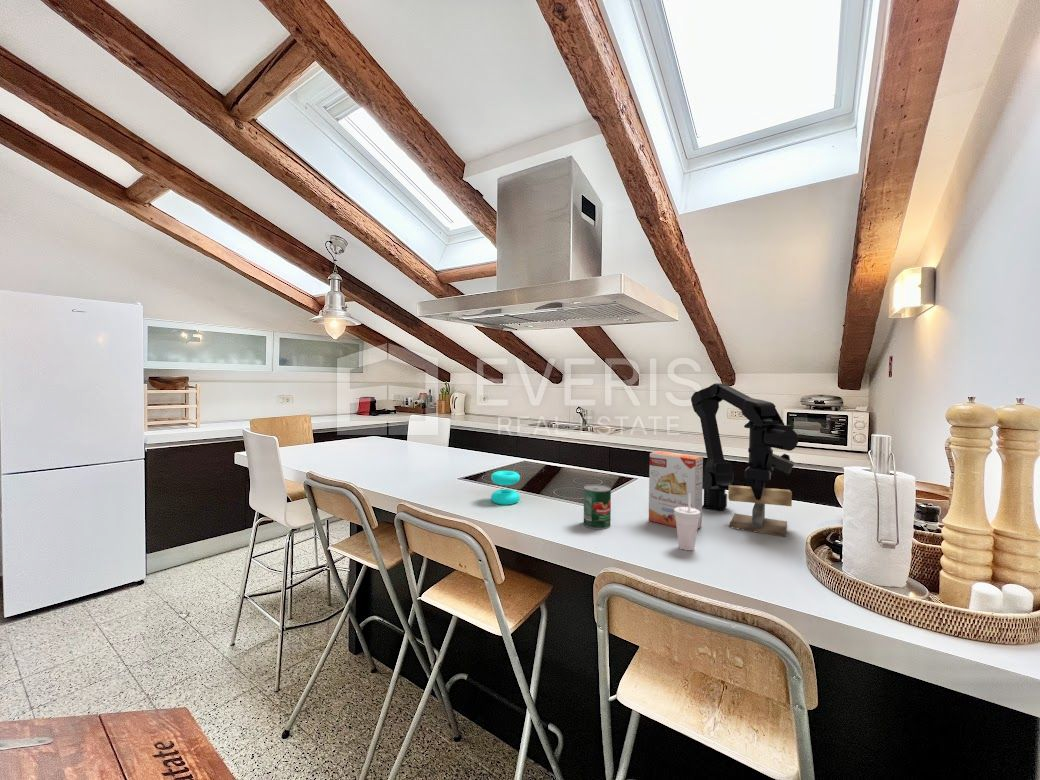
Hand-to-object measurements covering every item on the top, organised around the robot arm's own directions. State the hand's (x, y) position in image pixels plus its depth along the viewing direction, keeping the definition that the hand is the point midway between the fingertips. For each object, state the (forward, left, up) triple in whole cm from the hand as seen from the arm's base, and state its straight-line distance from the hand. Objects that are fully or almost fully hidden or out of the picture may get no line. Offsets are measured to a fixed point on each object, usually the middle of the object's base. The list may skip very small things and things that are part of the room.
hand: (758, 498), depth 130 cm
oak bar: (0, 0, -1) cm, 1 cm away
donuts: (-76, -20, -8) cm, 79 cm away
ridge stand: (0, 0, -8) cm, 8 cm away
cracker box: (-21, -12, -8) cm, 26 cm away
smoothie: (-14, -29, -8) cm, 33 cm away
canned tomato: (-40, -25, -8) cm, 48 cm away
